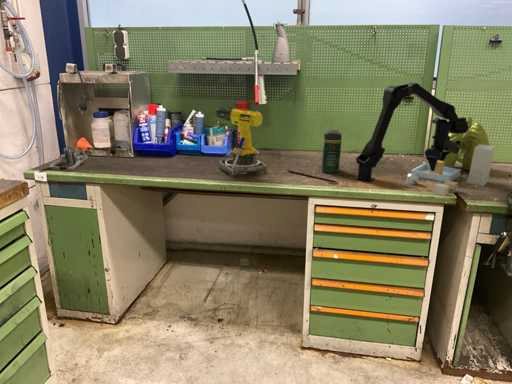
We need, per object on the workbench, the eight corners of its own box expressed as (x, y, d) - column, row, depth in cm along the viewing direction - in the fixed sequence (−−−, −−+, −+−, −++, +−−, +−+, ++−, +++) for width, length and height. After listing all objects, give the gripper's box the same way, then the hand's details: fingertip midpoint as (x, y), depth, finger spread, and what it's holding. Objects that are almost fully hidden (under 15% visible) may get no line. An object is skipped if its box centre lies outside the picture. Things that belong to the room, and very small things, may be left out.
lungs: (480, 166, 203) (489, 116, 196) (491, 174, 189) (501, 121, 181) (425, 163, 208) (433, 114, 200) (432, 171, 193) (440, 118, 186)
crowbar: (340, 181, 174) (334, 183, 170) (340, 183, 174) (334, 186, 171) (287, 168, 191) (280, 170, 188) (287, 171, 192) (280, 173, 188)
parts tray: (448, 183, 175) (449, 176, 174) (410, 176, 184) (411, 169, 183) (459, 176, 186) (460, 169, 185) (423, 169, 196) (424, 163, 195)
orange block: (439, 176, 182) (441, 163, 180) (428, 174, 185) (430, 161, 183) (442, 174, 185) (444, 161, 183) (432, 172, 188) (434, 159, 186)
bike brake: (64, 159, 202) (40, 176, 185) (61, 146, 199) (36, 162, 182) (91, 161, 201) (69, 179, 183) (88, 148, 198) (66, 164, 180)
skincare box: (472, 179, 181) (478, 143, 177) (489, 182, 177) (496, 146, 173) (467, 183, 175) (473, 146, 170) (484, 186, 171) (491, 149, 166)
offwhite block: (444, 196, 159) (445, 187, 158) (433, 194, 162) (435, 185, 160) (447, 194, 162) (449, 185, 161) (437, 191, 164) (438, 183, 163)
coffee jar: (338, 174, 186) (342, 132, 181) (320, 173, 188) (323, 131, 182) (339, 168, 195) (342, 129, 190) (322, 167, 197) (324, 128, 191)
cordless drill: (251, 162, 204) (250, 104, 195) (268, 171, 188) (269, 109, 179) (215, 166, 197) (213, 107, 188) (230, 177, 180) (229, 112, 172)
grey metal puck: (415, 185, 171) (416, 176, 170) (404, 183, 174) (405, 174, 173) (419, 183, 175) (420, 174, 173) (408, 181, 177) (410, 172, 176)
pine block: (453, 193, 162) (454, 184, 161) (442, 191, 165) (444, 182, 164) (456, 191, 165) (458, 182, 164) (446, 189, 168) (447, 180, 167)
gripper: (454, 139, 168) (448, 176, 172) (467, 133, 181) (461, 168, 186) (426, 135, 174) (421, 171, 179) (441, 130, 188) (436, 164, 193)
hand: (436, 169), depth 184 cm, fingers open, 9 cm apart
